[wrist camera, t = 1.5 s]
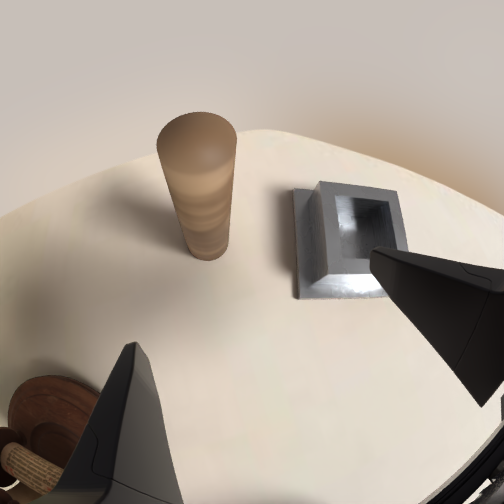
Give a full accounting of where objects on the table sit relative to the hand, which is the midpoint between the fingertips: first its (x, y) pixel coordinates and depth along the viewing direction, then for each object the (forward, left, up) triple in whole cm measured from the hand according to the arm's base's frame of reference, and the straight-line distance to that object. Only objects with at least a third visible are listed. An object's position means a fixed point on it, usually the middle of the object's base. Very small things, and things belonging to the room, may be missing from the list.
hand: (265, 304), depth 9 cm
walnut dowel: (+5, +6, -13) cm, 15 cm away
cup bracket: (+11, -5, -13) cm, 18 cm away
